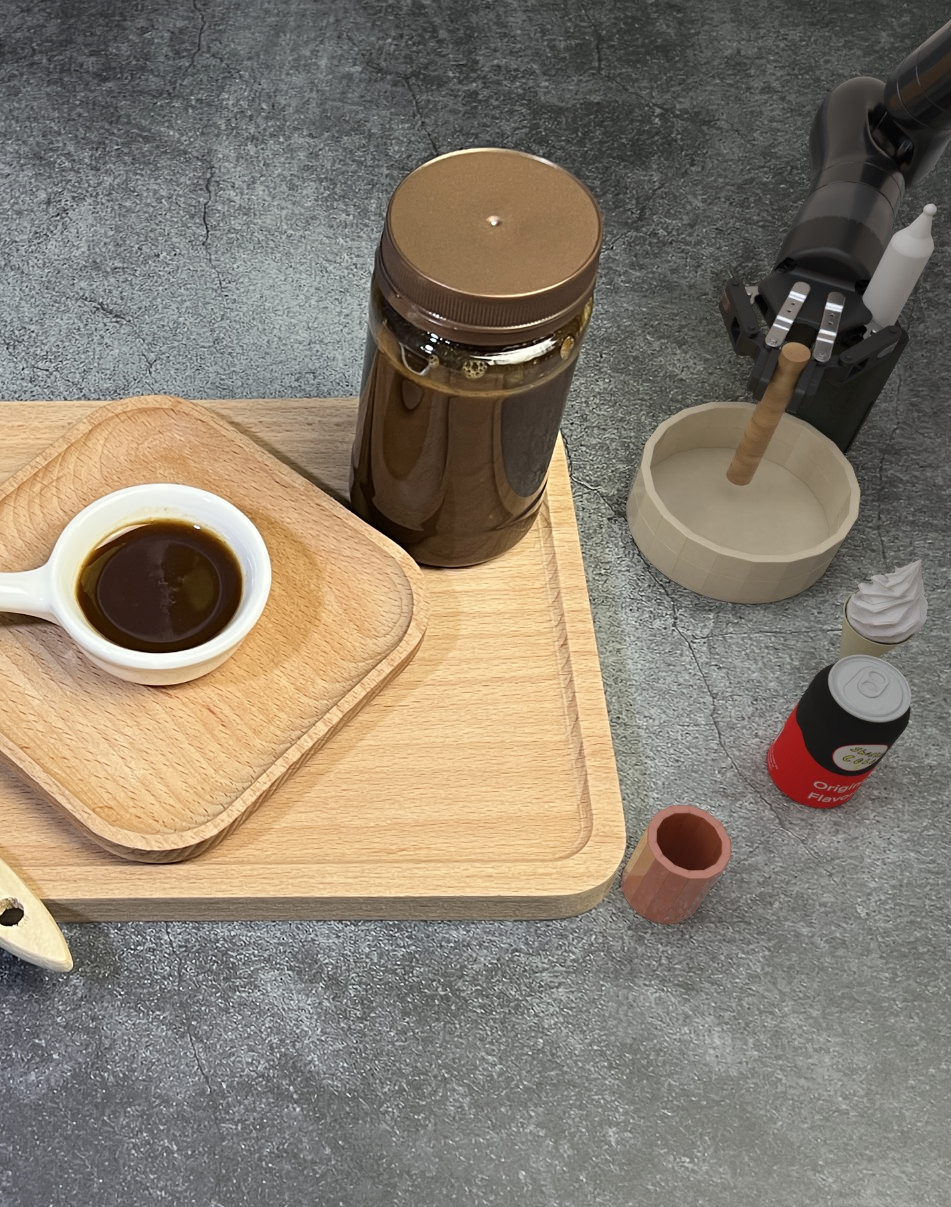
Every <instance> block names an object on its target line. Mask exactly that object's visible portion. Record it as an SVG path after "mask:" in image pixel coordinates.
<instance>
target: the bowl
mask: <svg viewBox="0 0 951 1207" xmlns="http://www.w3.org/2000/svg"><path fill="white" fill-rule="evenodd" d="M756 405H757V404H756V403H752V402H747V401H711V402H707V403H703V404H698V405H695V406H691V407H686V408H683V409H681V410H680V411H678V412H676V413H675V414H674V415H672V416H671V417H669V418H667V419H666V420H663V421H662V422H661V423H659V424H658V426H657V427H656V429H655V430H654V431H653V432H652V433H651V435H650V436H649V437H648V439H647V441H645V445H643V446H644V447H643V449H642V452H641V454H640V457H639V459H638V460H639V461H638V463H637V465H636V468H635V472H634V474H633V477H632V479H631V482H630V486H629V490H628V494H627V497H626V503H625V504H626V505H625V507H626V508H625V514H626V522H627V526H628V528H629V532H630V534H631V537H632V539H633V541H634V542H635V544H636V546H637V548H638V549H639V551H640V552H641V553H642V555H643V557H645V558H646V560H648V562H649V563H650V564H651V565H652V566H653V567H654V568H656V569H657V571H659V572H660V573H661V574H662V575H664V576H666V577H667V579H669V580H671V581H672V582H674V583H676V584H677V585H679V586H681V587H683V588H684V589H687V590H689V591H691V592H693V593H695V594H698V595H701V596H703V597H706V598H710V599H713V600H718V601H722V602H727V603H734V604H745V605H746V604H747V605H749V604H751V605H755V604H756V605H757V604H768V603H774V602H779V601H782V600H785V599H789V598H792V597H794V596H796V595H798V594H801V593H803V592H804V591H806V590H808V589H809V588H810V587H812V586H813V585H815V583H816V582H818V581H819V580H820V579H821V578H822V577H823V576H824V575H825V572H826V571H827V570H828V569H829V566H830V565H831V564H832V561H833V560H834V559H835V557H836V555H837V554H838V552H839V550H840V548H841V547H842V545H843V544H844V542H845V540H846V538H847V537H848V535H849V534H850V531H851V530H852V528H853V526H854V525H855V523H856V521H857V519H858V518H859V512H860V511H859V510H860V502H861V488H860V485H859V481H858V479H857V476H856V473H855V469H854V467H853V465H852V464H851V462H850V461H849V460H848V459H847V458H846V456H845V454H843V453H842V452H841V451H840V450H839V448H838V447H837V446H836V444H835V443H834V442H833V441H831V440H830V439H829V438H827V437H826V436H825V435H823V434H822V433H821V432H820V431H818V430H817V429H816V428H814V427H813V426H812V425H810V424H809V423H807V422H805V421H803V420H801V419H799V418H796V417H794V416H792V415H790V414H788V413H785V411H784V413H783V415H782V417H781V419H780V421H779V424H778V426H777V428H776V430H775V432H774V434H773V436H772V438H771V440H770V442H769V445H768V447H767V449H766V451H765V453H764V455H763V457H762V459H761V461H760V463H759V466H758V468H757V470H756V472H755V474H754V476H753V478H752V480H751V482H750V483H749V484H747V485H744V486H739V485H735V484H733V483H731V482H730V481H729V480H728V479H727V476H726V472H727V470H728V468H729V465H730V463H731V461H732V459H733V457H734V454H735V452H736V450H737V448H738V445H739V443H740V441H741V439H742V437H743V434H744V432H745V430H746V428H747V425H748V423H749V421H750V419H751V417H752V414H753V412H754V410H755V408H756Z"/></svg>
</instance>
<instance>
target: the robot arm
mask: <svg viewBox="0 0 951 1207" xmlns="http://www.w3.org/2000/svg"><path fill="white" fill-rule="evenodd" d="M950 141H951V19H950V20H949V21H947V22H946V23H945V24H944V25H943V26H942V27H940V28H939V29H938V30H937V31H935V32H934V33H933V34H932V35H931V36H930V37H928V38H927V39H926V40H925V41H923V42H922V43H921V44H920V45H918V46H917V47H916V48H915V49H914V50H912V52H910V53H909V54H908V55H907V56H906V57H904V58H903V59H902V60H901V61H900V62H899V63H898V64H897V65H896V66H895V67H894V69H893V70H891V72H890V74H889V75H888V78H887V79H886V81H885V82H884V81H883V80H880V79H879V78H876V77H873V76H866V75H865V76H864V75H863V76H856V77H855V76H854V77H852V78H849V79H847V80H844V81H842V82H841V83H839V84H838V85H836V86H835V87H833V89H832V90H830V92H828V93H827V95H826V96H825V97H824V98H823V100H822V101H821V103H820V105H819V107H818V108H817V110H816V112H815V115H814V116H813V120H812V122H811V126H810V129H809V136H808V163H809V164H808V166H809V181H810V185H809V188H808V191H807V193H806V195H805V198H804V200H803V203H802V205H801V206H800V208H799V210H798V211H797V213H796V215H795V216H794V218H792V221H791V222H790V226H789V228H788V230H787V233H786V234H785V235H784V238H783V239H782V243H781V247H780V250H779V251H778V254H777V257H776V259H775V262H774V264H773V267H772V269H771V272H770V274H769V275H768V276H766V277H765V278H763V279H762V280H760V282H759V283H758V285H752V286H745V284H744V282H743V281H742V279H739V278H735V277H734V278H730V279H728V280H727V282H726V284H725V287H724V290H723V293H722V295H721V298H720V300H719V303H718V306H717V307H718V310H719V313H720V316H721V319H722V321H723V324H724V327H725V330H726V332H727V333H726V334H727V336H728V338H729V341H730V344H731V346H732V349H733V352H734V353H735V354H736V355H737V356H739V357H747V356H749V357H750V358H751V359H752V360H753V367H752V370H751V372H750V374H749V377H748V379H747V381H746V384H745V387H746V388H745V389H746V391H747V392H751V393H752V396H751V398H750V400H752V401H755V402H758V401H759V402H761V400H762V398H763V396H764V393H765V391H766V389H767V387H768V384H769V382H770V379H771V377H772V374H773V372H774V369H775V367H776V364H777V361H778V357H779V354H780V352H781V350H782V348H783V346H784V345H785V343H786V342H787V343H800V344H802V345H804V346H806V347H807V348H808V349H809V351H810V354H811V355H810V358H809V360H808V363H807V365H806V366H805V368H804V369H803V371H802V373H801V375H800V378H799V380H798V382H797V384H796V386H795V388H794V390H793V393H792V396H791V398H790V400H789V404H788V407H786V408H787V409H785V410H787V411H790V412H793V413H796V412H797V410H798V408H799V407H800V408H803V409H806V408H807V407H808V406H810V404H811V402H812V400H813V398H814V396H815V394H816V392H817V389H818V386H819V383H820V381H823V380H829V382H830V383H831V384H832V385H834V386H843V385H845V384H846V383H848V382H850V381H851V380H853V379H855V378H856V377H858V376H860V375H861V374H863V373H865V372H866V371H868V370H870V369H871V368H873V367H875V366H876V365H878V364H880V363H881V362H883V361H885V360H886V359H888V358H889V356H890V354H891V352H892V351H893V349H894V347H895V345H896V344H897V342H898V339H899V338H900V336H901V334H902V331H901V329H900V328H899V327H897V326H894V325H889V326H886V327H885V328H883V327H881V326H880V325H878V324H877V323H876V322H874V321H873V320H872V318H873V315H872V313H871V311H870V310H869V309H868V308H867V307H866V306H865V304H864V302H863V295H864V293H865V291H866V289H867V287H868V285H869V283H870V281H871V279H872V277H873V275H874V273H875V271H876V269H877V267H878V265H879V263H880V261H881V259H882V257H883V255H884V253H885V251H886V249H887V247H888V245H889V242H890V240H891V238H892V237H893V227H894V225H895V222H896V219H897V217H898V214H899V210H900V207H901V205H902V202H903V199H904V194H905V191H907V190H910V189H912V188H913V187H915V186H917V185H919V184H920V183H921V182H922V181H924V180H925V179H926V177H927V176H928V175H929V174H930V173H931V171H932V170H933V168H934V167H935V166H936V164H937V163H938V161H939V160H940V158H941V156H942V155H943V153H944V151H945V149H946V147H947V145H948V144H949V142H950ZM754 304H755V306H756V308H757V309H758V311H759V313H760V315H761V317H762V318H763V320H764V322H765V324H766V325H767V327H768V329H769V331H768V332H767V334H764V333H763V332H761V327H760V324H759V321H758V318H757V316H756V314H755V311H754V308H753V306H754ZM859 335H861V336H862V339H861V341H860V342H859V343H858V344H856V345H854V346H853V347H851V348H849V349H847V350H846V351H844V352H842V353H841V354H840V356H837V355H831V352H832V348H833V346H835V345H838V344H840V343H842V342H845V341H847V340H849V339H852V338H854V337H856V336H859Z"/></svg>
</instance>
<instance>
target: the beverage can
mask: <svg viewBox="0 0 951 1207" xmlns="http://www.w3.org/2000/svg"><path fill="white" fill-rule="evenodd" d="M911 702H912V690H911V686H910V684H909V682H908V680H907V678H906V677H905V676H904V674H903V673H902V672H901V671H900V670H899V669H898V668H897V667H896V666H894V665H893V664H891V663H889V662H888V661H886V660H884V659H882V658H880V657H878V658H877V657H873V656H869V655H851V656H847V657H845V658H842V659H841V660H839V661H838V660H837V662H833V663H831V664H828V665H827V666H825V667H823V668H822V669H820V670H819V671H818V672H817V673H816V674H815V675H814V676H813V678H812V681H811V682H810V683H809V685H808V687H807V688H806V690H805V691H804V692H803V693H802V696H801V697H800V699H799V700H798V702H797V703H796V705H795V706H794V708H793V709H792V711H791V713H790V714H789V716H788V717H787V719H785V720H786V721H785V722H784V723H783V725H782V727H781V728H780V730H779V731H778V733H777V734H776V736H775V737H774V739H773V741H772V742H771V743H770V745H769V747H768V750H767V754H766V766H767V771H768V773H769V776H770V778H771V780H772V782H773V783H774V784H775V785H776V787H777V788H778V790H780V791H781V792H782V793H783V794H784V795H786V796H787V797H788V798H790V799H791V800H793V801H795V802H797V803H799V804H801V805H804V806H807V807H812V808H818V809H828V808H834V807H838V806H840V805H843V804H844V803H846V802H848V801H849V800H850V799H851V798H852V797H853V796H854V795H855V794H856V792H857V791H858V790H859V789H860V788H861V786H862V785H863V784H864V782H865V781H866V780H867V779H868V777H869V776H870V775H871V773H872V772H873V771H874V770H875V768H877V766H878V764H879V763H880V762H881V761H882V759H883V758H884V757H885V755H886V754H887V753H888V752H889V751H890V749H891V748H892V747H893V745H894V744H895V742H896V741H897V740H898V739H899V738H900V737H901V735H902V734H903V733H904V732H905V730H906V729H907V727H908V726H909V722H910V718H911Z"/></svg>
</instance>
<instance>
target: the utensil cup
mask: <svg viewBox="0 0 951 1207" xmlns="http://www.w3.org/2000/svg"><path fill="white" fill-rule="evenodd" d="M731 858H732V842H731V838H730V836H729V834H728V832H727V829H726V828H725V827H724V825H723V824H722V823H721V822H720V821H719V820H718V819H717V818H716V817H714V816H713V815H712V814H711V813H710V812H708V811H707V810H704V809H701V808H699V807H696V806H694V805H689V804H679V805H678V804H677V805H676V804H675V805H669V806H667V807H666V808H663V809H661V810H659V811H658V812H657V811H656V813H655V814H654V815H653V817H652V819H650V822H649V823H648V825H647V827H646V828H645V830H644V833H643V834H642V836H641V838H640V840H639V841H638V843H637V845H636V847H635V849H634V850H633V852H632V854H631V855H630V858H629V859H628V861H627V863H626V865H625V867H624V868H623V871H622V874H621V890H622V893H623V895H624V898H625V900H626V902H627V903H628V905H629V906H630V907H631V908H632V909H633V910H634V911H635V912H636V913H637V914H639V915H640V916H641V917H643V918H645V919H647V920H649V921H651V922H654V923H658V924H661V925H662V924H665V925H673V924H679V923H681V922H683V921H686V920H687V919H689V918H690V917H692V916H693V915H694V914H695V913H696V912H697V910H698V908H699V907H700V906H701V904H702V903H703V901H704V900H705V898H706V896H708V893H709V892H710V891H711V889H712V888H713V886H714V885H715V884H716V882H717V881H718V879H719V877H720V876H721V875H722V873H724V872H723V871H724V870H725V869H726V867H727V866H728V863H729V862H730V861H731Z"/></svg>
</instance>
